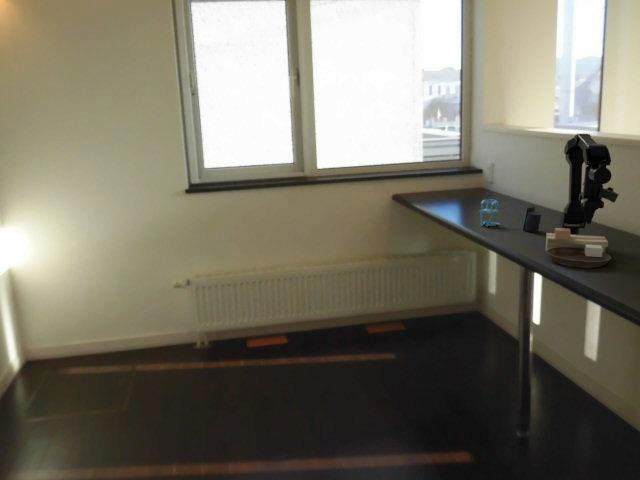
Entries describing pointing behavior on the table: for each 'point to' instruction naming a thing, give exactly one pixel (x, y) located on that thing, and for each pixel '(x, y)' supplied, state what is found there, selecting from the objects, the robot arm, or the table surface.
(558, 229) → the tan clay block
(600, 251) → the light grey block
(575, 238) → the beige elongated piece
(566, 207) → the robot arm
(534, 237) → the table surface
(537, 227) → the speaker
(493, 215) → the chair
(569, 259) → the plant saucer
